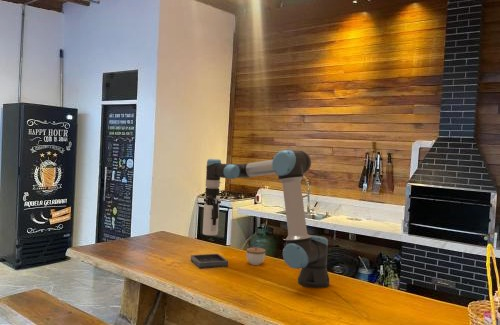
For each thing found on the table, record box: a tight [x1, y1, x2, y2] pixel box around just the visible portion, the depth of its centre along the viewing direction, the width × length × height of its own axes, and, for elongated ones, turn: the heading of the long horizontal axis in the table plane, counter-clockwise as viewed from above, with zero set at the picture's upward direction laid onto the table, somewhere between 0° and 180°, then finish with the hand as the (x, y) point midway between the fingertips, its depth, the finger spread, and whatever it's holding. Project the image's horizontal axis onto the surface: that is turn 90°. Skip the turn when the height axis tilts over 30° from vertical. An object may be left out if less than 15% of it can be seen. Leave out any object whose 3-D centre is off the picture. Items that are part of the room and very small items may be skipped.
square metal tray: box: [190, 253, 229, 270], centre depth 232 cm, size 16×16×3 cm
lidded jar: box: [245, 246, 266, 266], centre depth 237 cm, size 11×11×9 cm
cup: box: [202, 203, 220, 236], centre depth 231 cm, size 8×8×16 cm
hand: (210, 229), depth 232 cm, fingers closed on cup, 8 cm apart
